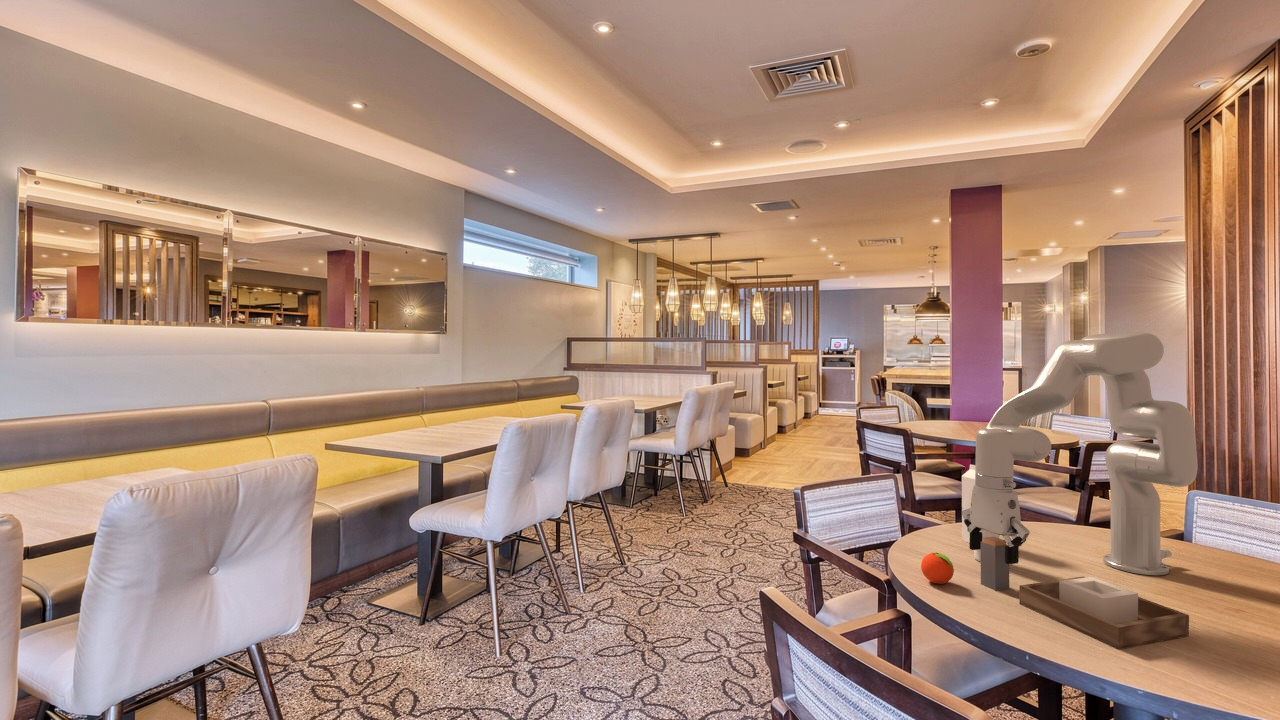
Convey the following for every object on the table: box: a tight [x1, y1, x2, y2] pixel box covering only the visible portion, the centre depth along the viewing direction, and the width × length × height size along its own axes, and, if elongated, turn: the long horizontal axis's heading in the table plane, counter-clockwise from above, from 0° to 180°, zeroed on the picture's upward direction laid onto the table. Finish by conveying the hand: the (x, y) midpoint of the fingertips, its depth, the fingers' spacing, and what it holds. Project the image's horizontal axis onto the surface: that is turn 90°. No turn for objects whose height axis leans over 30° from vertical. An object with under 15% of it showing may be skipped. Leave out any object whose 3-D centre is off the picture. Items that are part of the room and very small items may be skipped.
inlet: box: [1059, 576, 1139, 624], centre depth 118 cm, size 9×9×5 cm
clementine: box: [920, 552, 955, 585], centre depth 135 cm, size 8×7×7 cm
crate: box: [1018, 576, 1190, 650], centre depth 116 cm, size 18×20×4 cm
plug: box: [980, 537, 1010, 592], centre depth 133 cm, size 4×4×11 cm
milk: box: [961, 464, 976, 544], centre depth 164 cm, size 6×6×22 cm
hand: (993, 556), depth 133 cm, fingers open, 9 cm apart
